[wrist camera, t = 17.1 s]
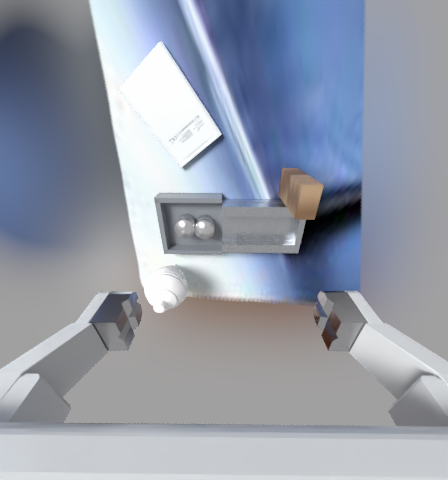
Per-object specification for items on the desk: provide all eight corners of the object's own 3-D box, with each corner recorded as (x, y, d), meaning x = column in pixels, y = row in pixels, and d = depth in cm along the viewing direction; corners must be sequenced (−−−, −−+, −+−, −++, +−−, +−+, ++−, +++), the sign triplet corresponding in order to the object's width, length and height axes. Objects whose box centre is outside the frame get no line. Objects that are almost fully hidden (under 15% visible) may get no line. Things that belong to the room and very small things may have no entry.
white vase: (151, 253, 41) (126, 297, 31) (186, 245, 40) (172, 288, 30) (165, 280, 45) (147, 327, 35) (198, 274, 44) (189, 321, 34)
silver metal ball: (194, 216, 36) (192, 223, 34) (212, 213, 36) (211, 220, 33) (199, 232, 38) (197, 240, 35) (216, 229, 37) (215, 237, 35)
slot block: (222, 199, 35) (221, 206, 32) (302, 199, 35) (309, 207, 32) (222, 242, 40) (221, 252, 37) (292, 243, 40) (298, 253, 37)
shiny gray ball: (177, 213, 36) (173, 220, 33) (196, 214, 36) (194, 221, 33) (178, 229, 38) (175, 237, 35) (196, 230, 38) (194, 238, 35)
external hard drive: (164, 44, 25) (222, 133, 30) (122, 91, 28) (182, 166, 33) (160, 39, 24) (222, 134, 29) (117, 89, 26) (180, 168, 32)
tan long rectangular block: (282, 167, 32) (302, 184, 24) (297, 168, 32) (323, 185, 24) (278, 195, 35) (295, 219, 26) (292, 195, 35) (314, 219, 26)
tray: (158, 193, 35) (154, 198, 32) (222, 193, 35) (221, 198, 32) (167, 246, 40) (164, 253, 38) (222, 246, 40) (221, 254, 38)
